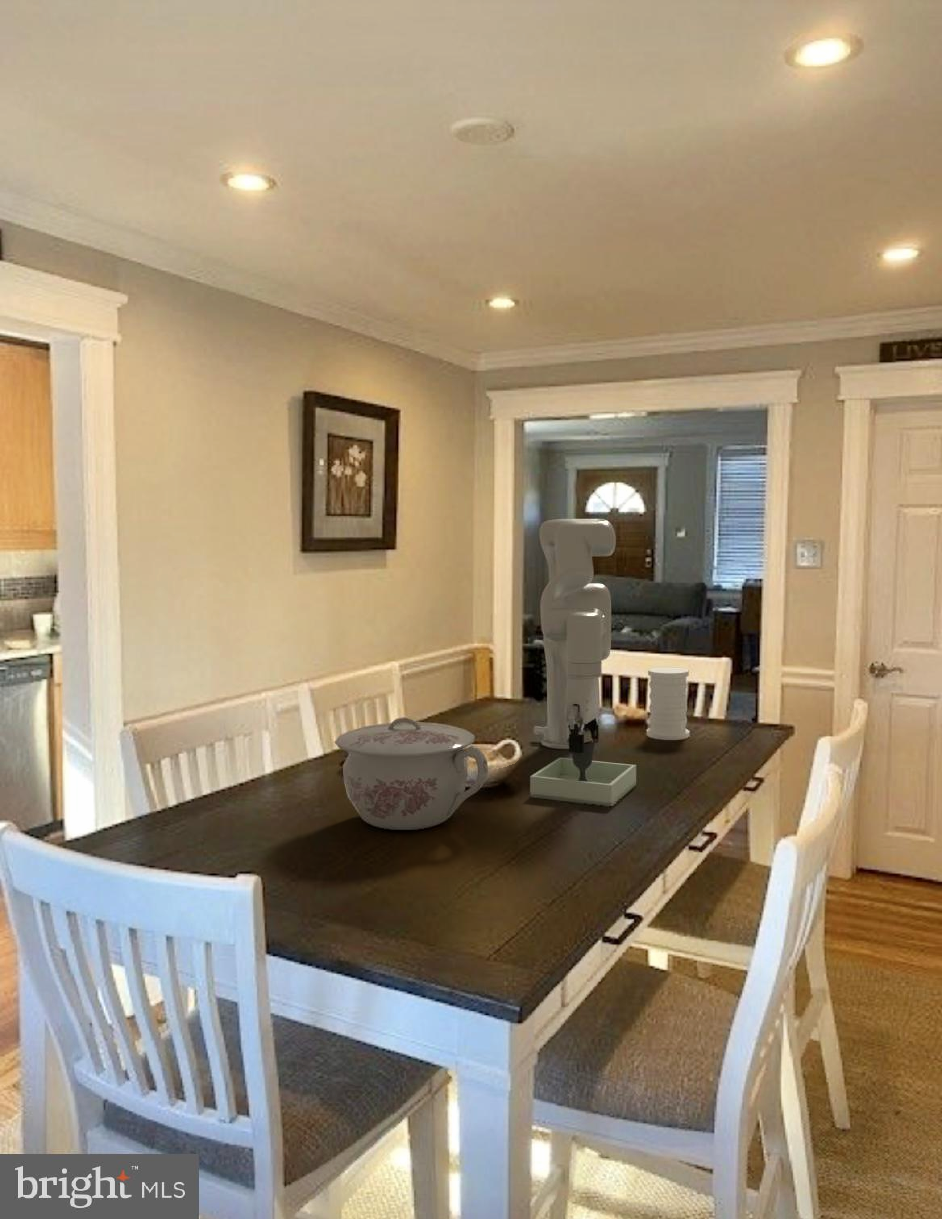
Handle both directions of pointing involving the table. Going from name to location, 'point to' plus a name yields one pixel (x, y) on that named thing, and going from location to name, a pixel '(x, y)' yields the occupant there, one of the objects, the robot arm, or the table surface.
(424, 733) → the chamber pot
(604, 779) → the box
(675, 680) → the decorative container
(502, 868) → the table surface
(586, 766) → the sundae
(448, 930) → the table surface
